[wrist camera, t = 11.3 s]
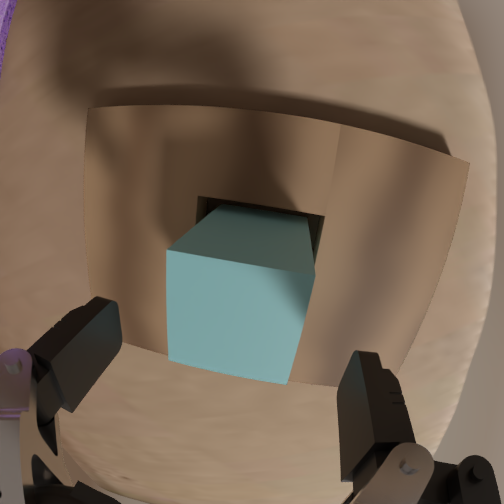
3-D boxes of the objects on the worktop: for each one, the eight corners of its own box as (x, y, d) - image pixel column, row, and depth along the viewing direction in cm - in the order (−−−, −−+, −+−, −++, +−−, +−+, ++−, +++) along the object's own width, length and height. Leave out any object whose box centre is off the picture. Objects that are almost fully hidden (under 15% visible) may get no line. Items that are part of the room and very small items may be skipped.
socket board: (453, 160, 14) (469, 163, 12) (382, 372, 20) (387, 390, 18) (106, 109, 16) (88, 108, 14) (109, 319, 22) (97, 333, 20)
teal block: (307, 217, 17) (315, 275, 9) (292, 293, 19) (286, 384, 11) (221, 203, 17) (166, 249, 10) (214, 280, 19) (168, 360, 12)
